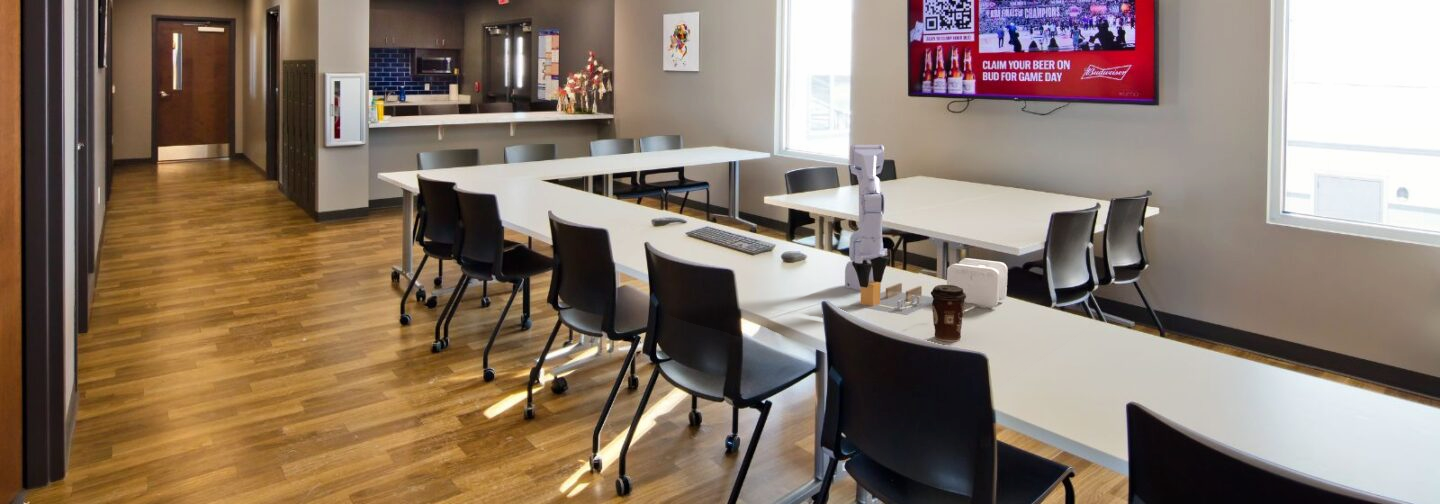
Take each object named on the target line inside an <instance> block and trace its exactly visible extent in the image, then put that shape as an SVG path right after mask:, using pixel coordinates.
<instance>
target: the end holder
mask: <svg viewBox="0 0 1440 504" xmlns="http://www.w3.org/2000/svg"><path fill="white" fill-rule="evenodd" d="M902 288H903V283H902V282H899V283H896V284H893V285H891V286H889V287H885V291H886V298H887V299H889V298H891V297H894V296H896V295H899V294H901V293H903V289H902ZM922 290H923V289H922V285H919V286H915V287H913V288H911V289H908V290H906V291H905V293H906V302H909V301H911V300H912V295H915V299H916V298H917V296H920V297H921V295H922Z"/></svg>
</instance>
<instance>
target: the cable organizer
mask: <svg viewBox="0 0 1440 504" xmlns="http://www.w3.org/2000/svg"><path fill="white" fill-rule="evenodd" d="M1008 268H1009V267H1008V266H1007V265H1006V263H1004V262H1002V261H995V260H985V259H977V258H969V257H966V258H962V259H960V261H959V262H958V263H952V264H950V265H949V266H948V267H947V269H946V285H954V286H958V287H960V288H962V289H963V292H964V293H965V294H966V298H965V300H964V303H967V304H974V306H975V307H977V308H983V309H987V308H993V307H995V306H997V305H998V304H999V301H1002V300H1004V299H1006V297H1007V295H1008V294H1007V291H1008V287H1007V286H1008V273H1009V271H1008V270H1009V269H1008Z"/></svg>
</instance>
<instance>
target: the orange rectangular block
mask: <svg viewBox="0 0 1440 504" xmlns="http://www.w3.org/2000/svg"><path fill="white" fill-rule="evenodd" d="M881 283H882V281H881V282H874V281H869V283H868V287H861V290H860V301H861V304H864V305H870V306H874V305H877V304H879V303H880V293H881V288H882V287H881Z"/></svg>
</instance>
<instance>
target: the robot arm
mask: <svg viewBox="0 0 1440 504" xmlns="http://www.w3.org/2000/svg"><path fill="white" fill-rule="evenodd" d="M884 162H885V147H884V145H883V144H881V143H880V144H851V146H850V147H849V164H850V165H849V168H850V173H851V174H853V175H855V176H856V177H857V181H858V229H857V230H856V231H855V232H853V233H852V234H851V235H850V237H849V247H848V249H849V250H848V251H849V253H848V254H849V261H847V263H846V265H845V268H844V288H847V289H852V290H853V289H854V290H856V291H861V287H868V283H869V281H874V282H881V283H882V281H883V278H884V277H883V276H884V273H885V270H886V268H887V266H888V263H889V262H890V259H891V257H890V256H888V248H884V242H883V215H884V213H885V208H886V207H885V196H884V193H883V191H882V185H881V179H880V178H879V177H878V176H877V175H879V174H881V173H882V170H883V166H884Z"/></svg>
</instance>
